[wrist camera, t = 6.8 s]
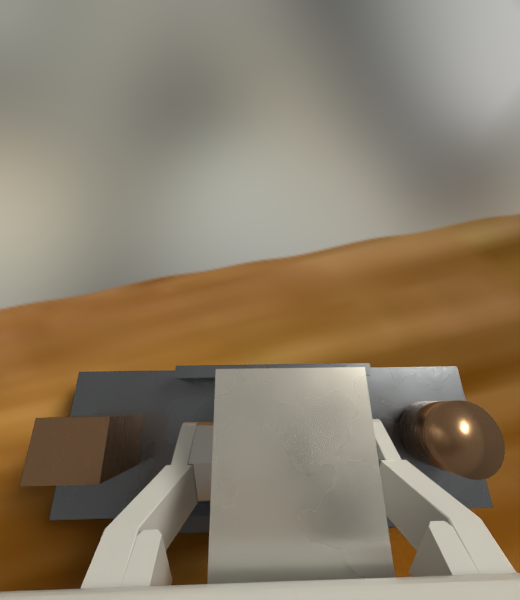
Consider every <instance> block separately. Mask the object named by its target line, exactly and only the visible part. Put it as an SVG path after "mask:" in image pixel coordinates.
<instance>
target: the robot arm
mask: <svg viewBox="0 0 520 600" xmlns="http://www.w3.org/2000/svg"><path fill="white" fill-rule="evenodd" d="M372 420H373V427H374V434H375V441H376V448H377V455H378V462H379V469H380V476H381V483H382V490H383V497H384V504H385V511H386V516H387V517H388V518H389V519H390V520H391V522H392V523H393V524H394V525H395V526H396V527H397V529H398V530H399V531H400V532H401V533H402V534H403V536H404V537H405V538H406V539H407V540H408V541H409V542H410V544H411V545H412V546H413V547H414V548H415V549H416V551H417V553H416V556H415V558H414V560H413V563H412V565H411V567H410V570H409V572H410V575H411V577H393V578H364V579H336V580H308V581H279V582H251V583H223V584H195V585H172V576H171V571H170V567H169V563H168V559H167V554H166V550H167V549H168V547H169V546H170V544H171V543H172V541H173V539H174V538H175V536H176V535H177V533H178V532H179V530H180V529H181V527H182V526H183V524H184V523H185V521H186V520H187V518H188V517H189V515H190V514H191V512H192V511H193V509H194V508H195V506H196V504H197V501H208V500H211V476H212V450H213V425H214V422H184V423H183V424H182V426H181V429H180V433H179V437H178V440H177V444H176V447H175V451H174V455H173V458H172V462H171V465H166V466H165V467H164V468H163V469H162V470H161V471H160V472H159V473H158V474H157V475H156V476H155V478H154V479H153V480H152V481H151V482H150V483H149V484H148V485H147V486H146V487H145V488H144V489H143V490H142V491H141V492H140V493H139V494H138V495H137V496H136V497H135V498H134V499H133V500H132V501H131V502H130V504H129V505H128V506H127V507H126V508H125V509H124V510H123V511H122V512H121V513H120V514H119V515H118V516H117V517H116V518H115V519H114V520H113V521H112V522H111V523H110V524H109V525H108V526H107V527H106V528H105V530H104V532H103V535H102V537H101V540H100V542H99V545H98V547H97V549H96V552H95V554H94V557H93V559H92V562H91V564H90V566H89V569H88V571H87V574H86V576H85V578H84V581H83V583H82V586H81V588H80V589H56V590H28V591H0V600H520V573H516V571H515V570H514V568H513V567H512V565H511V564H510V562H509V561H508V559H507V558H506V556H505V555H504V553H503V552H502V550H501V549H500V547H499V546H498V544H497V543H496V541H495V540H494V538H493V537H492V535H491V534H490V532H489V531H488V529H487V528H486V526H485V525H484V523H483V522H482V520H481V519H480V518H479V517H478V516H477V515H475V514H474V513H473V512H471V511H470V510H469V509H468V508H466V507H465V506H464V505H463V504H461V503H460V502H459V501H458V500H456V499H455V498H454V497H452V496H451V495H450V494H449V493H447V492H446V491H445V490H444V489H442V488H441V487H440V486H439V485H437V484H436V483H435V482H433V481H432V480H431V479H430V478H428V477H427V476H426V475H425V474H423V473H422V472H421V471H420V470H418V469H417V468H416V467H414V466H413V465H412V464H411V463H409V462H408V461H407V460H402V459H401V458H400V456H399V454H398V452H397V450H396V448H395V446H394V444H393V443H392V441H391V439H390V437H389V435H388V433H387V431H386V429H385V428H384V426H383V424H382V422H381V421H380V420H379V419H372Z"/></svg>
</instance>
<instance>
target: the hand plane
mask: <svg viewBox="0 0 520 600" xmlns="http://www.w3.org/2000/svg"><path fill="white" fill-rule="evenodd" d="M334 367H365V371H366V378H367V385H368V392H369V399H370V406H371V413H372V419H379V420H380V421H381V422H382V424H383V426H384V428H385V429H386V431H387V433H388V435H389V437H390V439H391V441H392V443H393V444H394V446H395V448H396V450H397V452H398V454H399V456H400V458H401V459H402V460H407V461H408V462H409V463H411V464H412V465H413V466H414V467H416V468H417V469H418V470H420V471H421V472H422V473H423V474H425V475H426V476H427V477H428V478H430V479H431V480H432V481H433V482H435V483H436V484H437V485H439V486H440V487H441V488H442V489H444V490H445V491H446V492H447V493H449V494H450V495H451V496H452V497H454V498H455V499H456V500H458V501H459V502H460V503H461V504H463V505H464V506H465V507H466V508H493V505H492V502H491V498H490V494H489V490H488V486H487V482H486V478H489V477H491V476H492V475H494V474H495V473H496V472H497V471H498V470H499V468H500V467H501V465H502V463H503V459H504V454H505V447H504V441H503V437H502V434H501V431H500V429H499V427H498V425H497V424H496V422H495V421H494V419H493V418H492V417H491V416H490V415H489V414H488V413H487V412H486V411H485V410H484V409H482V408H481V407H479V406H477V405H475V404H473V403H471V402H468V401H466V400H465V396H464V392H463V388H462V385H461V381H460V377H459V373H458V369H457V366H454V367H385V368H370V363H342V364H271V365H201V366H176V371H110V372H79V375H78V380H77V385H76V390H75V394H74V399H73V404H72V409H71V414H70V416H65V417H48V418H36V420H35V424H34V428H33V432H32V436H31V440H30V445H29V449H28V453H27V457H26V461H25V465H24V469H23V474H22V478H21V482H20V486H56V488H55V493H54V498H53V503H52V508H51V513H50V518H49V520H76V519H111V518H116V517H117V516H118V515H119V514H120V513H121V512H122V511H123V510H124V509H125V508H126V507H127V506H128V505H129V504H130V502H131V501H132V500H133V499H134V498H135V497H136V496H137V495H138V494H139V493H140V492H141V491H142V490H143V489H144V488H145V487H146V486H147V485H148V484H149V483H150V482H151V481H152V480H153V479H154V478H155V476H156V475H157V474H158V473H159V472H160V471H161V470H162V469H163V468H164V467H165V466H166V465H171V462H172V458H173V455H174V451H175V447H176V444H177V440H178V437H179V433H180V429H181V426H182V424H183V423H184V422H214V399H215V373H216V369H255V368H334ZM210 502H211V500H208V501H197V504H196V506H195V508H194V509H193V511H192V512H191V514H190V515H189V517H188V518H187V520H186V521H185V523H184V524H183V526H182V527H181V529H180V530H179V532H178V533H177V534H183V533H209V528H210ZM386 518H387V525H388V527H394V524H393V523H392V522H391V520H390V519H389V518H388V517H387V516H386Z"/></svg>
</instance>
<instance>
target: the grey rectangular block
mask: <svg viewBox="0 0 520 600" xmlns="http://www.w3.org/2000/svg"><path fill="white" fill-rule="evenodd" d="M393 577H395V573H394V566H393V559H392V552H391V545H390V539H389V532H388V525H387V518H386V511H385V504H384V497H383V490H382V483H381V476H380V469H379V462H378V455H377V448H376V441H375V434H374V427H373V420H372V413H371V406H370V399H369V392H368V385H367V378H366V371H365V367H334V368H255V369H216V373H215V399H214V425H213V450H212V476H211V502H210V528H209V553H208V579H207V584H223V583H251V582H279V581H308V580H336V579H364V578H393Z"/></svg>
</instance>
